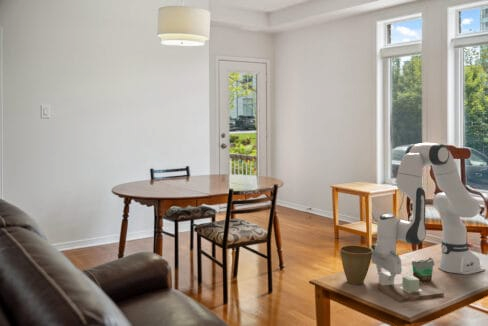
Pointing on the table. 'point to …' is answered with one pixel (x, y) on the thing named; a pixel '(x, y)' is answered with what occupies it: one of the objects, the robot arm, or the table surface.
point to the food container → (423, 270)
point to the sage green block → (410, 283)
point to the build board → (404, 295)
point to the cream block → (385, 278)
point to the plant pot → (355, 262)
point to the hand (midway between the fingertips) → (385, 277)
